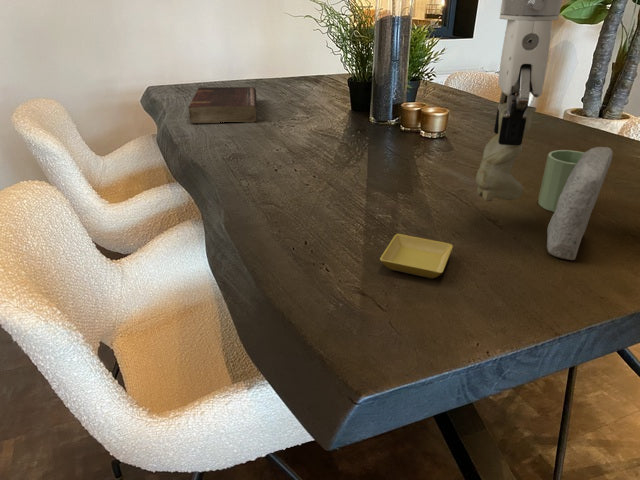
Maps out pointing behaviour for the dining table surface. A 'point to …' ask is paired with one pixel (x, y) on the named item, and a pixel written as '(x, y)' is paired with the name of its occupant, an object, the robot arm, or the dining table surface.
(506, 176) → the sculpture
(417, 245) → the yellow shallow tray
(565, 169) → the sage cup
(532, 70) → the robot arm
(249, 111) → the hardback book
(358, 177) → the dining table surface
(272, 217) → the dining table surface
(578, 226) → the decorative stone
